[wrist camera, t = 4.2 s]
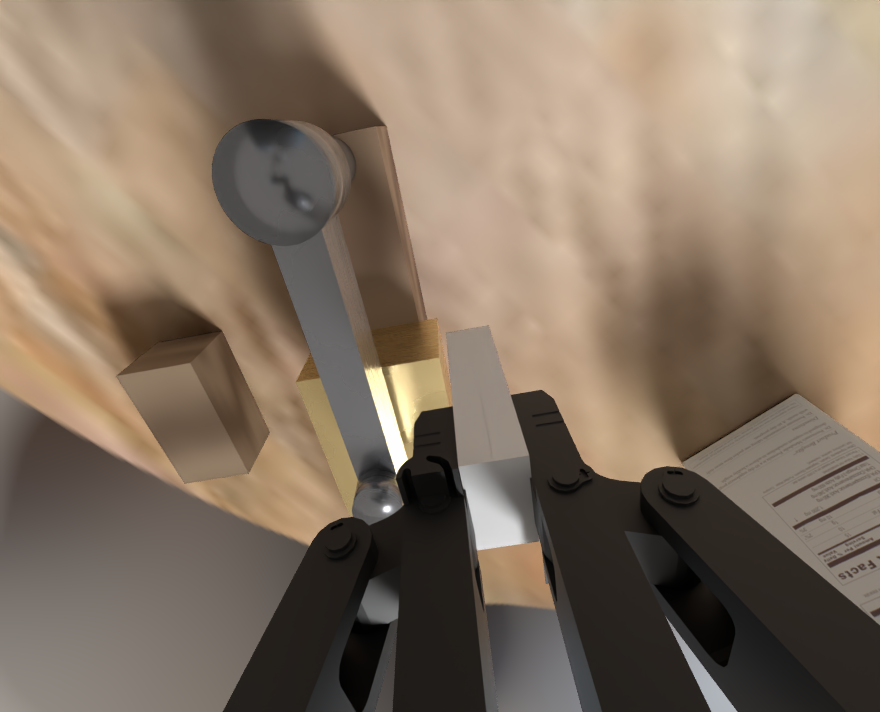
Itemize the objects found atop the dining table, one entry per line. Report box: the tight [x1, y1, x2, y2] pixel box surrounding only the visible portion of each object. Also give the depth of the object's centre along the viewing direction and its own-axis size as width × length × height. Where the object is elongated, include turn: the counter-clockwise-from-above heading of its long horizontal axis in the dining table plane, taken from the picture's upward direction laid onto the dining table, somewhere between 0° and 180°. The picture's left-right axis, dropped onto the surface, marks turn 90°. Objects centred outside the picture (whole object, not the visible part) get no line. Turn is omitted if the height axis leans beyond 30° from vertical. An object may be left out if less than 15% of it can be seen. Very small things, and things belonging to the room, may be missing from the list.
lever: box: [212, 119, 407, 525], centre depth 14 cm, size 14×3×4 cm, turn 10°
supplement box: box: [682, 394, 880, 625], centre depth 25 cm, size 10×9×17 cm
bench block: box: [116, 331, 270, 484], centre depth 26 cm, size 8×4×4 cm, turn 10°
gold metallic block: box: [296, 318, 453, 516], centre depth 21 cm, size 8×6×4 cm
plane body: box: [330, 126, 427, 330], centre depth 22 cm, size 22×4×9 cm, turn 10°
